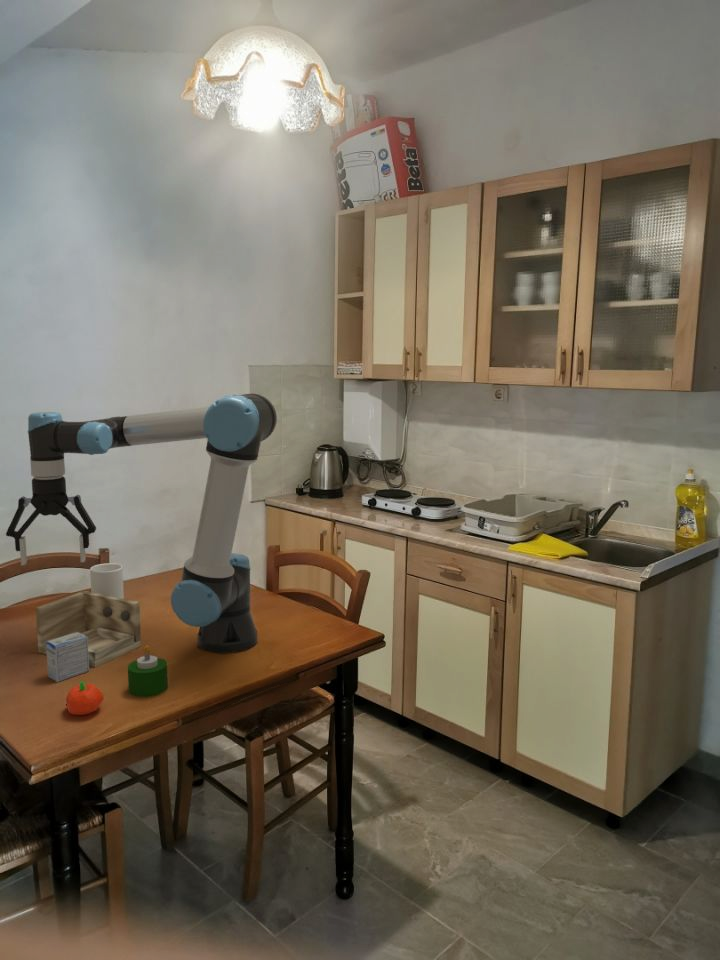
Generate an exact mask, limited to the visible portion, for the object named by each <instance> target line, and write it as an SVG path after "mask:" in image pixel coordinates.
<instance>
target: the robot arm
mask: <svg viewBox="0 0 720 960" xmlns="http://www.w3.org/2000/svg"><path fill="white" fill-rule="evenodd" d="M277 417H278V416H277V411H276V409H275V407H274V405H273V404H272V402H271V401H270V400H269V399H268V398H266V397H265V396H263V395H261V394H258V393H244V394H229V395H225V396H223V397H222V398H219V399H217V400H216V401H214V402H213V403H212V404H211V405H209V406H203V407H193V408H186V409H184V408H183V409H177V410H176V409H175V410H169V411H159V412H152V413H151V412H150V413H142V414H133V415H127V416H112V417H107V418H102V419H100V418H99V419H94V420H85V421H64V420H63V417H62V414H61V413H60V412H55V411H54V412H53V411H48V412H47V411H45V412H44V411H41V412H40V411H39V412H32V413H30V414H29V415H28V417H27V418H28V419H27V420H28V421H27V423H28V424H27V426H28V427H27V428H28V430H27V434H28V443H29V445H28V446H29V452H30V453H29V454H30V460H29V461H30V474H31V477H33V478H32V479H31V491H32V497H26V496H21V497H20V498H18V502H17V509H16V510H15V514H14V516H13V518H12V520H11V521H10V524H9V526H8V528H7V529H6V532H5V535H6V536H7V537H11V538H14V547H15V548H14V549H15V551H16V552H20V565H21V566H25V565H26V564H27V563H28V559H27V558H28V556H27V542H26V541H27V540H26V536H23V534H24V533H25V532H26V531H27V529H29V527H30V526H31V525H32V523H33V522H34V521H35V520H36V518H37V517H38V516H39V515H42V516H45V517H46V516H58V515H61V516H62V517H63V518H65V519H66V520H67V521H68V522H69V523H70V524H71V525H72V526H73V527H74V528H75V529H76V530H77V531H78V532H79V533H80V535H79V540H78V541H79V556H80V563H85V561H86V558H87V557H86V549H88V548H89V546H90V535H91V534H94V533H95V532H96V531H97V526H96V525H95V523H94V522H93V520H92V518H91V517H90V515H89V513H88V512H87V510H86V508H85V506H84V505H83V503H82V499H81V495H79V494H76V495H73V496H68V495H67V485H66V482H67V481H66V477H65V476H64V475H65V474H66V467H65V465H66V463H65V454H80V455H83V454H84V455H91V456H93V455H103V454H106V453H108V452H109V450H110V449H114V448H115V449H116V448H125V447H132V446H141V445H150V444H151V445H152V444H161V443H171V442H180V441H181V442H182V441H192V440H200V439H206V440H207V441H206V447H205V451H206V453H207V454H208V455H209V457H210V464H209V467H208V475H207V478H206V485H205V489H204V490H205V491H204V495H203V500H202V505H201V511H200V515H199V522H198V527H197V532H196V536H195V537H196V538H195V542H194V546H193V547H194V548H193V553H192V556H191V557H189V558H188V559H186V560H185V561H184V565H183V570H182V576H181V580H180V581H179V582H178V583H177V584H176V585H175V587H174V588H173V589H172V592H171V594H170V604H171V609H172V610H173V613H174V614H175V615H176V616H177V618H178V619H179V621H181V622H182V623H184V624H186V625H188V626H190V627H195V628H199V629H198V630H199V631H198V633H197V640H196V641H197V646H198V647H199V649H202V650H203V651H206V652H209V653H210V652H211V653H217V654H223V653H224V654H229V653H230V654H232V653H237V652H242V651H247V650H248V649H250V648H253V647H254V646H255V645H256V644H258V630H257V628H256V625H255V623H254V619H253V616H252V613H251V567H250V566H251V565H250V559H249V557H248V556H246V555H244V554H241V553H233V548H234V542H235V539H236V538H235V537H236V533H237V529H238V528H237V527H238V522H239V518H240V513H241V508H242V503H243V497H244V493H245V487H246V483H247V478H248V472H249V468H250V465H252V464H253V463H255V462H256V461H257V460H258V457H259V452H260V447H261V443H262V442H263V441H264V440H266V439H268V438H269V437H270V436H272V434H273V432H274V431H275V428H276V426H277V422H278V419H277ZM69 503H71V504H72V506H74V507H75V509H76V510H77V513H78V514H79V516H80V517H81V520H82V521H83V522H84V524H85V525H84V524H83V523H82V522H81V521H80V520H79V519H78V518H77V517H76V516H75V515H74V514H73V513H72V512H71V510H69V508H68V507H67V505H68V504H69ZM29 504H31V505H32V506H33V508H34V511H33V512H32V513H31V515H29V516H28V518H27V519H26V520H25V522H24V523H23V524H22V525H21V527H20V528H19V529H18V530H17V531H16V528H17V526H18V525H19V522H20V520H21V517H22V516H23V513H24V512H25V509H26V508H27V507H28V506H29Z"/></svg>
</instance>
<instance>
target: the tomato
mask: <svg viewBox="0 0 720 960" xmlns="http://www.w3.org/2000/svg"><path fill="white" fill-rule="evenodd" d="M65 699H66V703H65V707H66V708H67V711H68V712H69V714H71V715H74V716H83V715H88V714H92V713H94V712H95V711H97V709H98V708H99V707H100V705H102V703H103V701H104V694H103V692H102V691H101V690H100V689H99V688H98V687H97V686H96V685H94V684H92V683H84V681H82V680H81V681H80V683H79V685H75V686H74V687H72V688H70V689H69V690H68V692H67V695H66V698H65Z"/></svg>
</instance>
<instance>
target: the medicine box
mask: <svg viewBox="0 0 720 960" xmlns="http://www.w3.org/2000/svg"><path fill="white" fill-rule="evenodd" d="M46 650H47V655H46V662H47V663H46V664H47V676H48V678H49V679H51V680H53V681H55V682H57V683H59V682H61V681H64V680H67V679H70V678H74V677H75V676H79V675H81V674H84V673H87V672H89V671H90V666H89V656H88V637H87V636H85V635H83V634H81V633H78V632H76V633H73V634H69V635H66V636H62V637H59V638H56V639H53V640H49V641H47V642H46Z"/></svg>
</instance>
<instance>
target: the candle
mask: <svg viewBox="0 0 720 960" xmlns="http://www.w3.org/2000/svg"><path fill="white" fill-rule="evenodd" d="M142 651H143V654H144V655H143V656H140V657H139V658H137V659H135V660H133V661H131V662H130V663H129V664H128V665H127V681H128V682H127V686H128V692H129V694H130V695H131V696H133V697H139V698H149V697H150V698H151V697H154V696H158V695H160V694H163V693H165V692H166V691H167V689H168V688H169V687H168V685H169V684H168V679H169V678H168V661H167V660H165V659H163V658H160V657H157V656H155V655H151V648H150V645H148V644H147V645H145V646H144V648H143V650H142Z"/></svg>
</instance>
